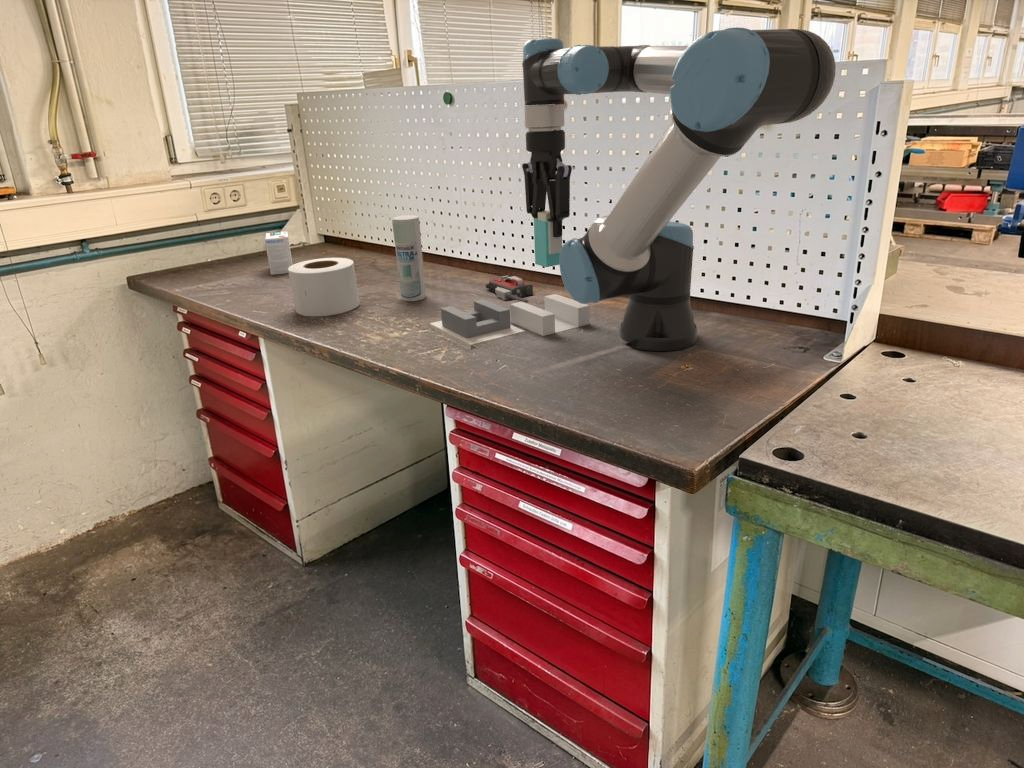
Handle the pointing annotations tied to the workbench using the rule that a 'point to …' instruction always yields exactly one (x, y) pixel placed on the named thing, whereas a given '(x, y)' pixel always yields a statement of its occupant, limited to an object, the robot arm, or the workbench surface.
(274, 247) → the light bulb box
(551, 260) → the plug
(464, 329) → the grey notched fixture
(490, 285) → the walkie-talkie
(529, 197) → the robot arm
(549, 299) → the offset white blocks
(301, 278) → the roll of tape
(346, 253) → the workbench surface
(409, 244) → the spray can
